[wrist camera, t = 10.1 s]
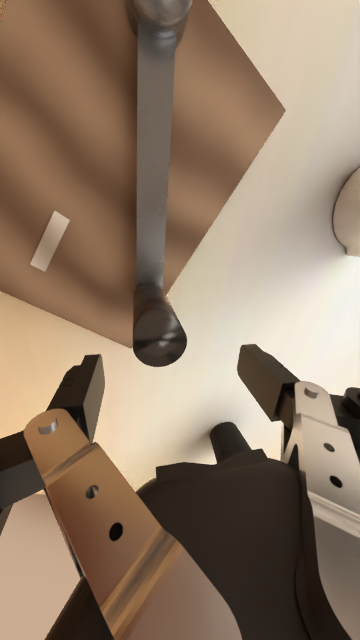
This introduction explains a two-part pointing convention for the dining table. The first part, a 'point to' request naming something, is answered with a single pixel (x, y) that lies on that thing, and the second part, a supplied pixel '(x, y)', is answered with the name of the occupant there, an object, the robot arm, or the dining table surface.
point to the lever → (154, 174)
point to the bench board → (111, 152)
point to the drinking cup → (227, 441)
